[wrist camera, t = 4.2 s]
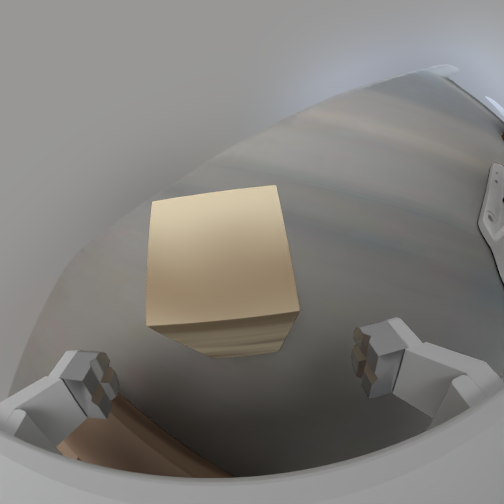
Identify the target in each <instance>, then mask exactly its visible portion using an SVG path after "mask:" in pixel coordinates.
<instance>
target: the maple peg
mask: <svg viewBox="0 0 504 504" xmlns="http://www.w3.org/2000/svg"><path fill="white" fill-rule="evenodd" d="M299 312H300V307H299V302H298V296H297V290H296V284H295V279H294V273H293V268H292V262H291V257H290V252H289V247H288V241H287V236H286V231H285V226H284V221H283V216H282V211H281V207H280V202H279V197H278V192H277V188H276V185H271V186H261V187H252V188H243V189H235V190H227V191H219V192H212V193H204V194H197V195H191V196H184V197H177V198H171V199H165V200H159V201H153V202H152V210H151V220H150V231H149V244H148V260H147V283H146V326H147V327H149V328H151V329H153V330H155V331H157V332H159V333H161V334H163V335H165V336H167V337H169V338H171V339H173V340H175V341H177V342H179V343H181V344H183V345H185V346H187V347H189V348H192V349H194V350H196V351H198V352H200V353H203V354H205V355H207V356H209V357H212V358H214V359H215V358H228V357H238V356H248V355H257V354H265V353H273V352H278V351H279V349H280V348H281V346H282V344H283V342H284V340H285V338H286V337H287V335H288V333H289V331H290V329H291V327H292V325H293V323H294V321H295V319H296V318H297V316H298V314H299Z"/></svg>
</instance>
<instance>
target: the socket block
mask: <svg viewBox="0 0 504 504" xmlns="http://www.w3.org/2000/svg"><path fill="white" fill-rule="evenodd" d="M111 403H112V408H111V411H110V413H109V415H108V418H107V419H99V418H91V417H87V419H86V420H85V421H84V422H83V423H82V424H80V425H79V426H78V427H77V428H76V429H75V430H74V431H73V432H72V433H71V434H70V435H69V436H68V437H66V438H65V439H64V440H63V441H62V442H61V443H60V444H59V445H58V446H57V447H56V448H57V449H58V450H59V451H60V452H61V453H62V454H63V456H66V457H69V458H72V459H76V460H79V461H83V462H87V463H91V464H95V465H99V466H103V467H108V468H113V469H118V470H123V471H129V472H135V473H142V474H150V475H159V476H170V477H185V478H235V476H233V475H231V474H229V473H227V472H226V471H224V470H222V469H220V468H219V467H217V466H215V465H214V464H212V463H210V462H209V461H207V460H206V459H204V458H202V457H201V456H199V455H198V454H196V453H195V452H193V451H192V450H190V449H189V448H187V447H186V446H184V445H183V444H181V443H180V442H179V441H177V440H176V439H174V438H173V437H172V436H170V435H169V434H168V433H166V432H165V431H164V430H162V429H161V428H160V427H158V426H157V425H156V424H155V423H153V422H152V421H151V420H150V419H148V418H147V417H146V416H145V415H144V414H142V413H141V412H140V411H139V410H138V409H136V408H135V407H134V406H133V405H132V404H131V403H130V402H129V401H127V400H126V399H125V398H124V397H123V396H122V395H121V394H120V393H119V392H118V393H117V396H116V397H115V398H114V399H112V400H111Z"/></svg>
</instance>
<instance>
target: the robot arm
mask: <svg viewBox="0 0 504 504" xmlns="http://www.w3.org/2000/svg"><path fill="white" fill-rule="evenodd" d="M478 225H479V228H480V231H481V232H482V234H483V236H484V238H485V239H486V241H487V242H488V244H489V246H490V247H491V249H492V252H493V254H494V257H495V260H496V264H497V267H498V270H499V273H500V276H501V278H502V281H503V283H504V166H503V165H500V164H498V163H494V164H493V165H492V166H491V167H490V173H489V178H488V183H487V188H486V192H485V197H484V201H483V205H482V209H481V213H480V217H479V220H478ZM353 339H354V340H355V342H356V345H355V346H354V347H353V349H352V355H351V359H352V366H353V369H354V372H355V374H356V376H358V377H360V378H362V384H361V385H362V387H363V389H364V391H365V393H366V395H367V397H368V399H371V398H375V397H379V396H382V395H386V394H389V393H392V392H393V393H392V394H394V395H395V396H397V397H399V398H400V399H402V400H403V401H405V402H407V403H408V404H410V405H412V406H413V407H415V408H417V409H418V410H420V411H421V412H423V413H425V414H426V415H428V416H430V417H431V418H433V420H432V422H431V424H430V426H429V428H428V429H427V431H425V432H423V433H421V434H419V435H416V436H414V437H412V438H409V439H407V440H404V441H402V442H399V443H397V444H394V445H392V446H389V447H386V448H383V449H381V450H378V451H375V452H372V453H369V454H365V455H362V456H359V457H355V458H352V459H348V460H345V461H341V462H337V463H333V464H329V465H324V466H320V467H315V468H310V469H305V470H299V471H293V472H287V473H280V474H272V475H262V476H251V477H235V478H185V477H170V476H159V475H150V474H142V473H135V472H129V471H123V470H118V469H113V468H108V467H103V466H99V465H95V464H91V463H87V462H83V461H79V460H76V459H72V458H69V457H66V456H63V454H62V453H61V452H60V451H59V450H58V449H57V448H56V447H57V446H58V445H59V444H60V443H61V442H62V441H63V440H64V439H65V438H66V437H68V436H69V435H70V434H71V433H72V432H73V431H74V430H75V429H76V428H77V427H78V426H79V425H80V424H82V423H83V422H84V421H85V420H86V419H87V417H91V418H99V419H107V418H108V415H109V413H110V411H111V408H112V403H111V400H112V399H114V398H115V397H116V396H117V393H118V391H119V381H118V377H117V375H116V373H115V371H114V370H113V369H112V368H110V367H109V363H110V360H109V359H108V357H107V355H106V353H104V352H100V351H83V350H80V351H79V350H68V351H66V353H65V354H64V355H63V357H62V358H61V359H60V361H59V362H58V363H57V365H56V366H55V368H54V369H53V371H52V372H51V373H50V375H49V376H48V377H46V376H45V377H43V378H42V379H40V380H38V381H36V382H35V383H33V384H31V385H30V386H28V387H26V388H24V389H23V390H21V391H19V392H18V393H16V394H14V395H12V396H11V397H9V398H7V399H6V400H4V401H2V402H1V403H0V504H504V381H503V380H502V379H501V378H500V377H499V376H498V375H497V374H496V373H495V371H494V370H493V369H492V368H491V367H490V366H489V365H488V364H487V363H486V362H485V361H481V360H478V359H475V358H472V357H469V356H466V355H463V354H460V353H457V352H454V351H451V350H448V349H445V348H443V347H440V346H437V345H434V344H431V343H428V342H425V343H422V342H421V341H420V339H419V338H418V337H417V336H416V335H415V334H414V333H413V332H412V331H411V330H410V328H409V327H408V326H407V325H406V324H405V323H404V322H403V321H402V320H401V319H400V318H398V317H395V318H391V319H387V320H384V321H382V322H378V323H374V324H369V325H365V326H360V327H356V328H355V331H354V336H353Z"/></svg>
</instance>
